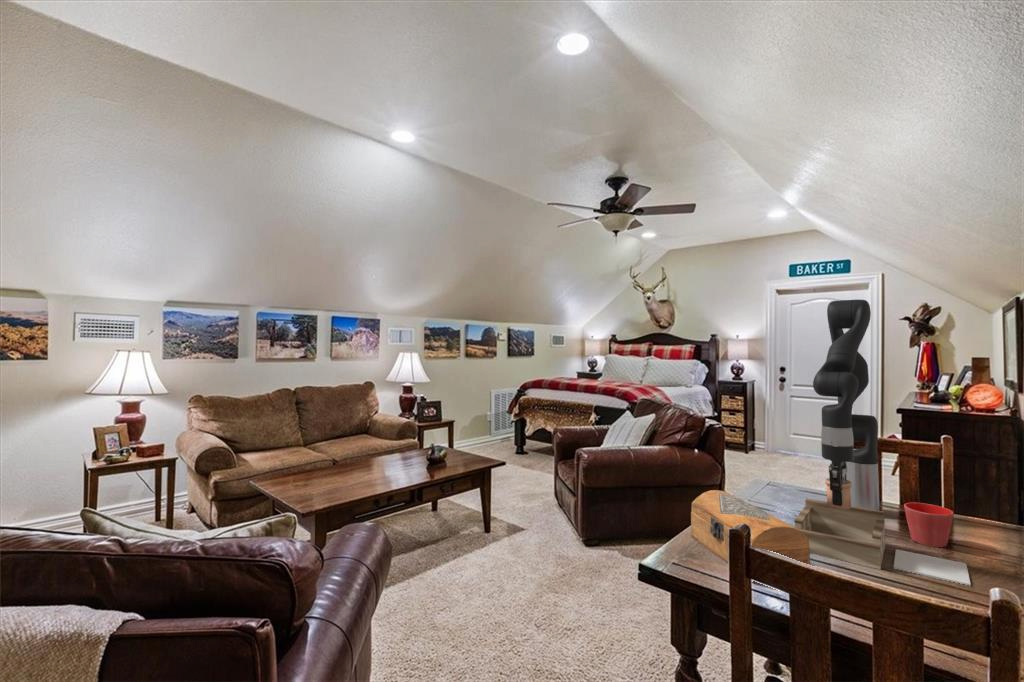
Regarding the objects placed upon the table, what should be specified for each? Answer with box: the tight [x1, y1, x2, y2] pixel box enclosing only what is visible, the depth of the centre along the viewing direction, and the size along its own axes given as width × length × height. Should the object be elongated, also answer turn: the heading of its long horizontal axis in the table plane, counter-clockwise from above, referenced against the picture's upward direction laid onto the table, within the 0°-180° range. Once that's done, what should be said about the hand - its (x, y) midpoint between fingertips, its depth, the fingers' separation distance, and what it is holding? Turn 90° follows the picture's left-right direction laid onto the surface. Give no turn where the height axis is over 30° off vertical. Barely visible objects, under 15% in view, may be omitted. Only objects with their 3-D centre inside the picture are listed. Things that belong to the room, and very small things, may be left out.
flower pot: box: [903, 501, 954, 548], centre depth 136 cm, size 11×11×10 cm
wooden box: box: [690, 489, 811, 585], centre depth 128 cm, size 30×16×14 cm, turn 6°
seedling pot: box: [824, 477, 852, 509], centre depth 133 cm, size 6×6×9 cm
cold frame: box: [794, 497, 886, 570], centre depth 133 cm, size 19×19×10 cm
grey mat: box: [893, 548, 971, 587], centre depth 120 cm, size 14×14×1 cm
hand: (838, 501), depth 133 cm, fingers closed on seedling pot, 5 cm apart
